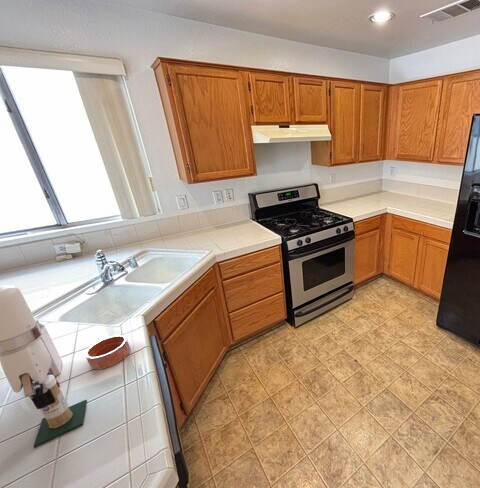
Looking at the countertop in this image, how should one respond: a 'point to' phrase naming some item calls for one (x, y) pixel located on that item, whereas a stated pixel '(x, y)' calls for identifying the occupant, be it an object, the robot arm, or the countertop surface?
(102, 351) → the bowl
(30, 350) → the robot arm
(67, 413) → the sprinkles bottle
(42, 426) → the mat
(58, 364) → the milk carton
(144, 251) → the countertop surface
